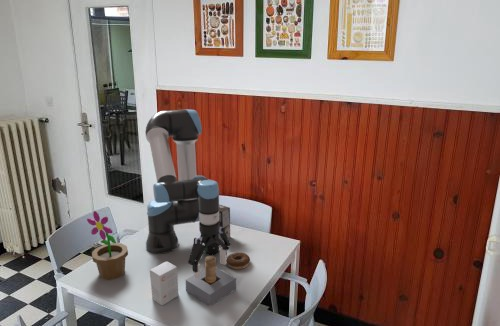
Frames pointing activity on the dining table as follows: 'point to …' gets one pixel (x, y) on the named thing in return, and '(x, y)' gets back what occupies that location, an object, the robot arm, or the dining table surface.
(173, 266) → the small box
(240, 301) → the dining table surface
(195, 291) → the socket block
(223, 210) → the coffee box
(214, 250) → the supplement bottle
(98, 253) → the flowerpot
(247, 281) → the dining table surface
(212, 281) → the oak peg
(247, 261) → the donut
